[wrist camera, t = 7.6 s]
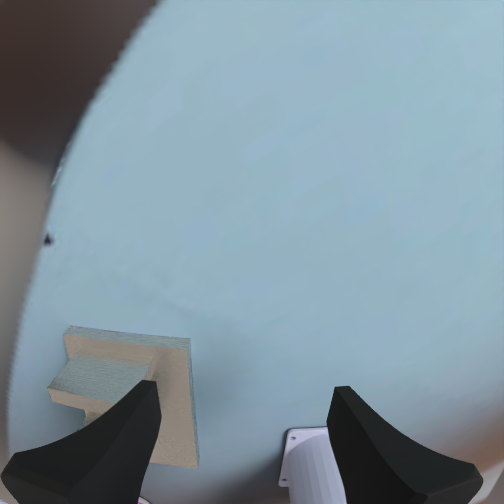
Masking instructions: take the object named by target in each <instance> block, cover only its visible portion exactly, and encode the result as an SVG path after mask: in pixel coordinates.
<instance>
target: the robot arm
mask: <svg viewBox="0 0 504 504" xmlns="http://www.w3.org/2000/svg"><path fill="white" fill-rule="evenodd" d="M161 419H162V414H161V408H160V402H159V396H158V390H157V383H156V381H150V380H141V381H140V382H139V383H138V384H137V385H136V386H134V387H133V388H132V389H131V390H130V391H129V392H128V393H127V394H126V395H125V396H124V397H123V398H122V399H120V400H119V401H118V402H117V403H116V404H115V405H114V406H112V407H111V408H110V409H109V410H108V411H106V412H105V413H104V414H102V415H101V416H100V417H99V418H97V419H96V420H94V421H93V422H92V423H90V424H89V425H87V426H85V427H84V428H82V429H80V430H79V431H77V432H75V433H73V434H71V435H69V436H67V437H65V438H62V439H60V440H58V441H56V442H53V443H50V444H48V445H45V446H42V447H38V448H35V449H31V450H27V451H22V452H17V453H15V454H14V455H13V456H12V458H11V459H10V461H9V462H8V464H7V465H6V467H5V468H4V470H3V472H2V473H1V479H2V482H3V484H4V485H5V487H6V488H7V489H8V491H9V492H10V493H11V494H12V495H13V497H14V498H15V499H16V500H17V502H18V503H19V504H138V501H139V496H140V491H141V486H142V482H143V478H144V475H145V472H146V469H147V467H148V464H149V461H150V458H151V455H152V452H153V450H154V447H155V444H156V441H157V438H158V434H159V429H160V424H161ZM326 422H327V427H322V428H304V429H291V430H289V431H288V433H287V439H286V445H285V451H284V456H283V462H282V467H281V472H280V477H279V486H281V487H289V496H290V504H468V503H469V502H470V500H471V499H472V498H473V497H474V496H475V495H476V494H477V492H478V491H479V490H480V488H481V486H482V484H483V478H482V476H481V475H480V473H479V471H478V470H477V468H476V467H475V465H474V464H472V463H468V462H464V461H460V460H457V459H453V458H450V457H447V456H445V455H442V454H439V453H437V452H435V451H432V450H430V449H428V448H426V447H424V446H422V445H420V444H419V443H417V442H415V441H413V440H412V439H410V438H409V437H407V436H405V435H404V434H402V433H401V432H400V431H398V430H397V429H395V428H394V427H393V426H392V425H390V424H389V423H388V422H387V421H385V420H384V419H383V418H382V417H381V416H379V415H378V414H377V413H376V412H375V411H374V410H373V409H372V408H371V407H370V406H369V405H368V404H367V403H366V402H365V401H364V400H363V399H362V398H361V397H360V396H359V395H358V394H357V393H356V392H355V391H354V390H353V389H352V388H351V387H350V386H339V387H335V388H334V393H333V397H332V401H331V405H330V409H329V413H328V417H327V421H326ZM291 437H293V438H291ZM0 504H8V503H7V502H5V501H3V500H2V499H0Z"/></svg>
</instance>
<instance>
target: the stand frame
mask: <svg viewBox="0 0 504 504" xmlns="http://www.w3.org/2000/svg"><path fill="white" fill-rule="evenodd" d="M63 336H64V341H65V345H66V349H67V353H68V357H69V362H68V363H67V364H66V365H65V367H64V368H63V369H62V370H61V371H60V373H59V374H58V375H57V376H56V378H55V379H54V380H53V381H52V383H51V384H50V385H49V386H48V391H49V394H50V396H51V399H52V402H55V403H59V404H63V405H67V406H70V407H74V408H78V409H82V410H84V411H85V414H86V417H87V420H88V422H89V424H90V423H92V422H93V421H94V420H96V419H97V418H99V417H100V416H101V415H102V414H104V413H105V412H106V411H108V410H109V409H110V408H111V407H112V406H114V405H115V404H116V403H117V402H118V401H119V400H120V399H122V398H123V397H124V396H125V395H126V394H127V393H128V392H129V391H130V390H131V389H132V388H133V387H134V386H136V385H137V384H138V383H139V382H140V381H141V380H150V381H156V383H157V390H158V396H159V402H160V408H161V414H162V419H161V424H160V429H159V434H158V438H157V441H156V444H155V447H154V450H153V452H152V455H151V458H150V461H149V462H151V463H158V464H165V465H172V466H180V467H189V468H198V464H199V458H200V457H199V448H198V438H197V428H196V417H195V406H194V394H193V380H192V365H191V349H190V339H188V338H175V337H163V336H151V335H141V334H132V333H123V332H114V331H106V330H98V329H91V328H84V327H77V326H71V327H70V328H69V329H68V330H67V331H66V332H65V333H64V334H63Z"/></svg>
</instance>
